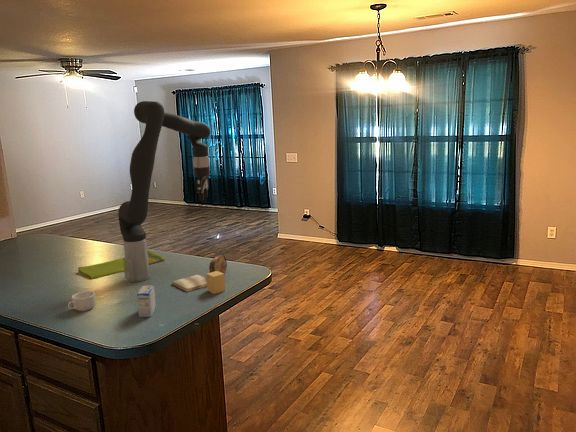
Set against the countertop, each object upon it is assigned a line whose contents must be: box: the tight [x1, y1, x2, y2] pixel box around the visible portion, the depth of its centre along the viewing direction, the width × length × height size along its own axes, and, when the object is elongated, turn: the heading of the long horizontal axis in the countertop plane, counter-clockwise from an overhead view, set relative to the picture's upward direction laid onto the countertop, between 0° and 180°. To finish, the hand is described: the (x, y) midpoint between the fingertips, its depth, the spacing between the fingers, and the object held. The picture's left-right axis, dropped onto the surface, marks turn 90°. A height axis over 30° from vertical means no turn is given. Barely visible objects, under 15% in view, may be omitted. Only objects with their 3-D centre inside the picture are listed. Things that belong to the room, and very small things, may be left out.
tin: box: [208, 254, 227, 275], centre depth 197 cm, size 15×3×8 cm, turn 168°
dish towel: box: [77, 249, 165, 280], centre depth 214 cm, size 15×36×3 cm, turn 136°
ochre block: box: [206, 271, 226, 295], centre depth 180 cm, size 5×5×7 cm
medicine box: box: [136, 285, 157, 318], centre depth 160 cm, size 8×4×9 cm, turn 5°
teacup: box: [67, 290, 96, 312], centre depth 164 cm, size 10×8×5 cm
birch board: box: [171, 274, 207, 293], centre depth 188 cm, size 12×12×1 cm
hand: (203, 199), depth 224 cm, fingers open, 8 cm apart
